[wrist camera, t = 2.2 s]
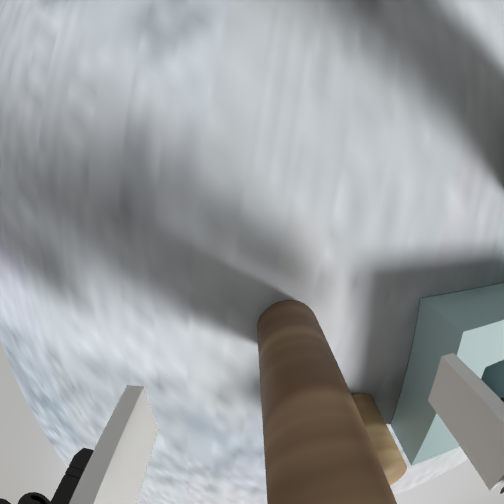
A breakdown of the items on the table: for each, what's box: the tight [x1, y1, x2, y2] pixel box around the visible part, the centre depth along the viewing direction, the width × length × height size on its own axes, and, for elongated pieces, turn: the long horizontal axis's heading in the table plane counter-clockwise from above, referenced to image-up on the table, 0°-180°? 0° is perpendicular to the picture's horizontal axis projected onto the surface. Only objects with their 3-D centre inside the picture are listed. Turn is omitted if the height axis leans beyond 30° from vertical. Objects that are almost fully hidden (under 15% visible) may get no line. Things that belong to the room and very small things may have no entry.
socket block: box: [391, 283, 504, 465], centre depth 16 cm, size 12×12×5 cm
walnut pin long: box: [257, 301, 397, 504], centre depth 10 cm, size 4×4×16 cm
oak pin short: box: [351, 393, 407, 485], centre depth 16 cm, size 4×4×7 cm
